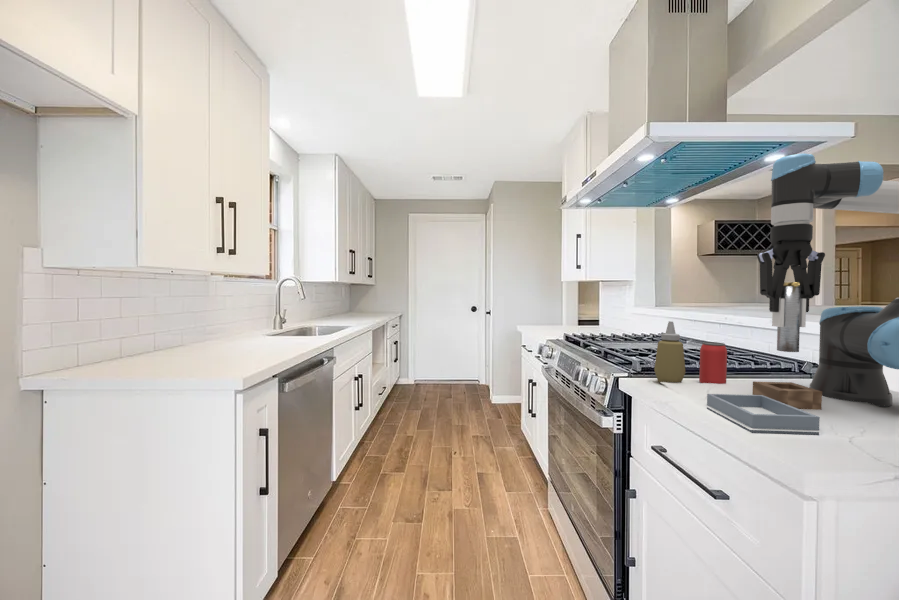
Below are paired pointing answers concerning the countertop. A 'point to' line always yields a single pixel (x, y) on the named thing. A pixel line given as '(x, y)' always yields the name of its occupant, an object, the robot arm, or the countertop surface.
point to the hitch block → (790, 394)
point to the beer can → (713, 363)
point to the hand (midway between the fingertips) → (788, 326)
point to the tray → (784, 419)
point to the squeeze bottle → (670, 357)
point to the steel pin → (790, 318)
